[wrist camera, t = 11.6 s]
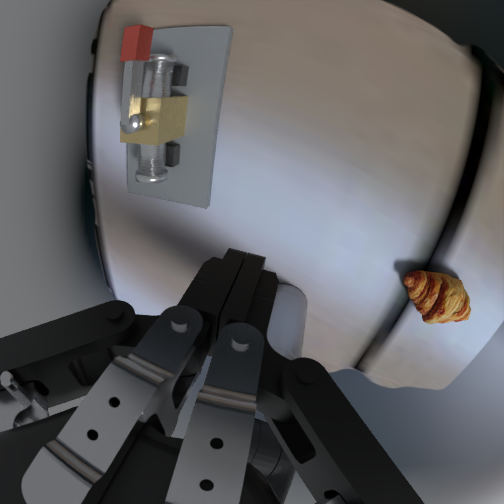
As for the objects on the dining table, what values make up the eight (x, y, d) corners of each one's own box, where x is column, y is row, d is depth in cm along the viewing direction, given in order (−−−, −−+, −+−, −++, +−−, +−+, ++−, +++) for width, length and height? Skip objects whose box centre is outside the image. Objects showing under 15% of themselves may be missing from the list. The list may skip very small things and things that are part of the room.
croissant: (468, 290, 43) (492, 300, 35) (448, 332, 44) (470, 347, 36) (405, 248, 42) (431, 254, 34) (381, 300, 43) (403, 314, 35)
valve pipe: (181, 173, 39) (156, 189, 33) (149, 167, 40) (121, 183, 34) (193, 57, 29) (166, 51, 23) (157, 58, 30) (126, 55, 24)
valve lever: (145, 131, 28) (131, 136, 26) (128, 131, 29) (114, 135, 26) (155, 28, 21) (141, 24, 19) (137, 30, 21) (123, 27, 19)
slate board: (209, 205, 43) (206, 208, 41) (133, 189, 44) (128, 192, 43) (233, 28, 27) (230, 26, 26) (142, 33, 29) (137, 32, 27)
